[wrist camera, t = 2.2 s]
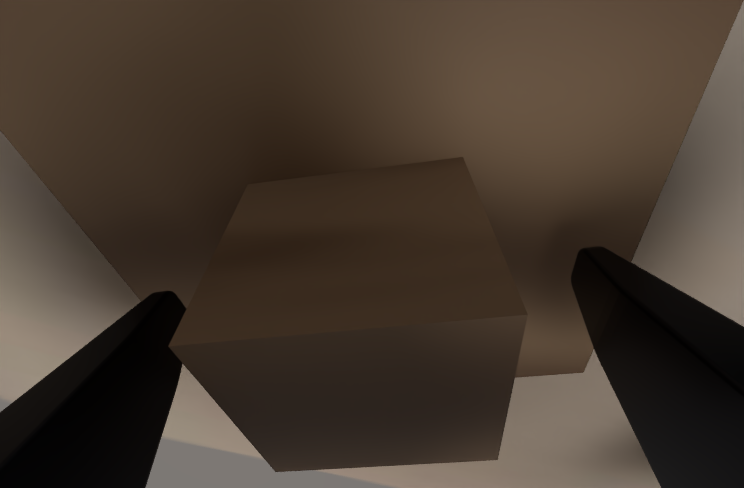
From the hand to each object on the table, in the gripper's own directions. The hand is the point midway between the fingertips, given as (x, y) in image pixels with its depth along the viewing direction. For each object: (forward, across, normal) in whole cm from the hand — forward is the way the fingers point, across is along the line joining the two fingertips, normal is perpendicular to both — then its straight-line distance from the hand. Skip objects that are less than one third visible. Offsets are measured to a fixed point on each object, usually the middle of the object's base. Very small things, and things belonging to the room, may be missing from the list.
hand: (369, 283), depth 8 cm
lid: (+2, 0, 0) cm, 2 cm away
